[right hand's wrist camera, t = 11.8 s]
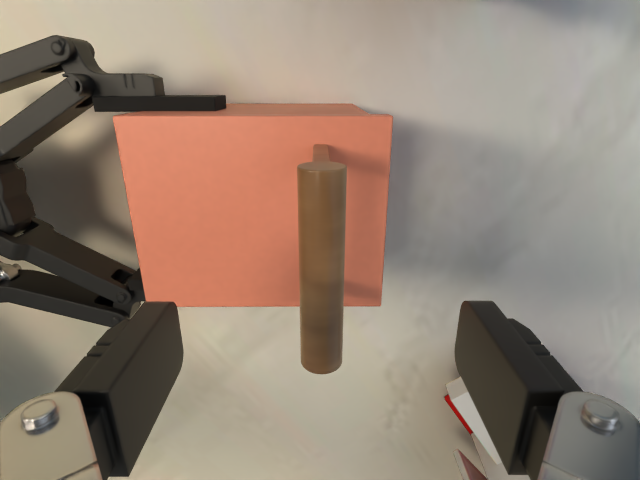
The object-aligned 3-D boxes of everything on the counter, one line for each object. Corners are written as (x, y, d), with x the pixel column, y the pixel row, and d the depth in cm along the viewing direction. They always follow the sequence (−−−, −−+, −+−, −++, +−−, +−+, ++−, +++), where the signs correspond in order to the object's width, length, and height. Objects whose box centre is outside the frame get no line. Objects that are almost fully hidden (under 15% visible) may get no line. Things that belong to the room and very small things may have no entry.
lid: (389, 113, 20) (433, 133, 12) (378, 297, 23) (407, 398, 16) (122, 113, 19) (1, 133, 12) (153, 297, 23) (76, 398, 16)
